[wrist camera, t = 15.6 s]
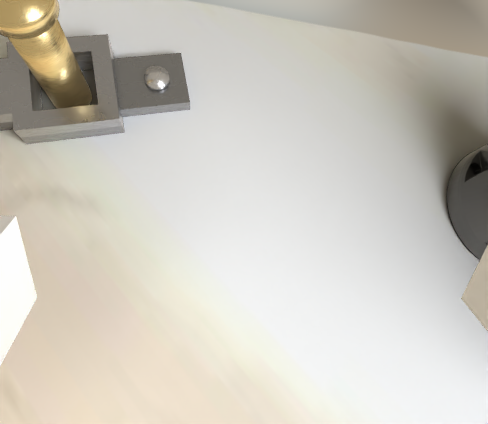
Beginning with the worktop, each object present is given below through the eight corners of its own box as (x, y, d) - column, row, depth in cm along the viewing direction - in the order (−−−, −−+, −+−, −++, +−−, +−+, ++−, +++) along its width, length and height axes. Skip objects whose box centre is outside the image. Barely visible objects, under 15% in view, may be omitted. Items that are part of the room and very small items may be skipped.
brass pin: (94, 72, 41) (48, -41, 28) (100, 116, 40) (55, 20, 27) (43, 77, 40) (-30, -37, 27) (48, 122, 39) (-27, 26, 26)
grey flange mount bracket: (178, 47, 43) (177, 25, 40) (192, 124, 41) (192, 107, 38) (-56, 67, 39) (-80, 43, 36) (-53, 153, 37) (-78, 137, 34)
